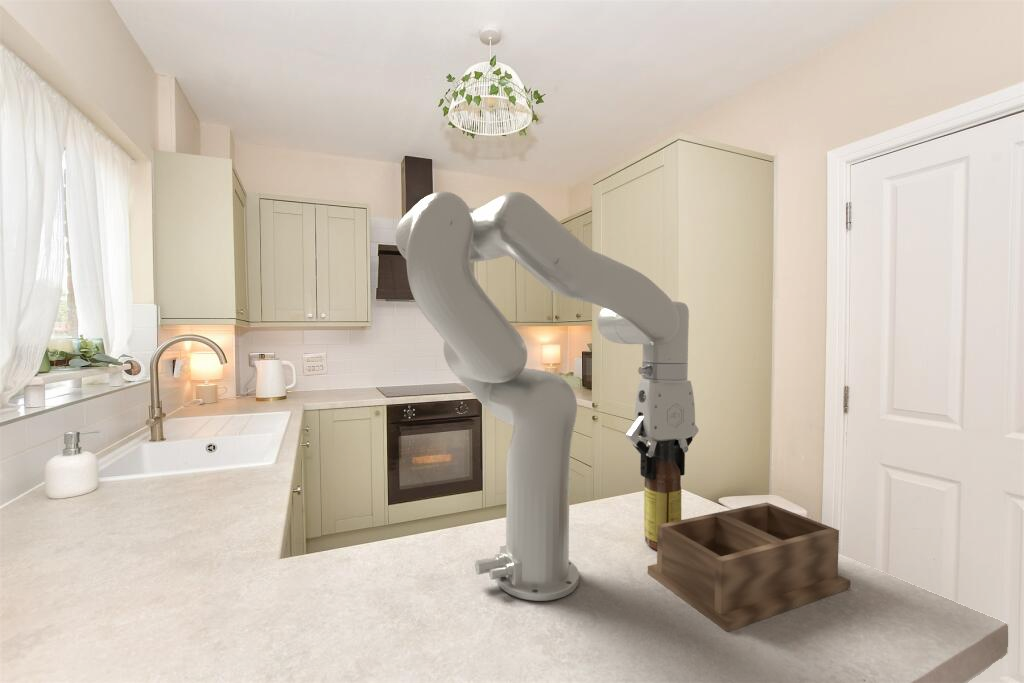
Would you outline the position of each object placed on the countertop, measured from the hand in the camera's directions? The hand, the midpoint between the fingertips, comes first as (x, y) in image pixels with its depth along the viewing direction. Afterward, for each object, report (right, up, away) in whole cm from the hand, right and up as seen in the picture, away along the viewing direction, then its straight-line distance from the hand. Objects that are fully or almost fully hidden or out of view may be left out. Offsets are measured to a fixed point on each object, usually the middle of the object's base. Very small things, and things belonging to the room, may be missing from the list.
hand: (662, 474), depth 81 cm
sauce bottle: (0, -13, 0) cm, 13 cm away
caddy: (+9, -13, -11) cm, 19 cm away
